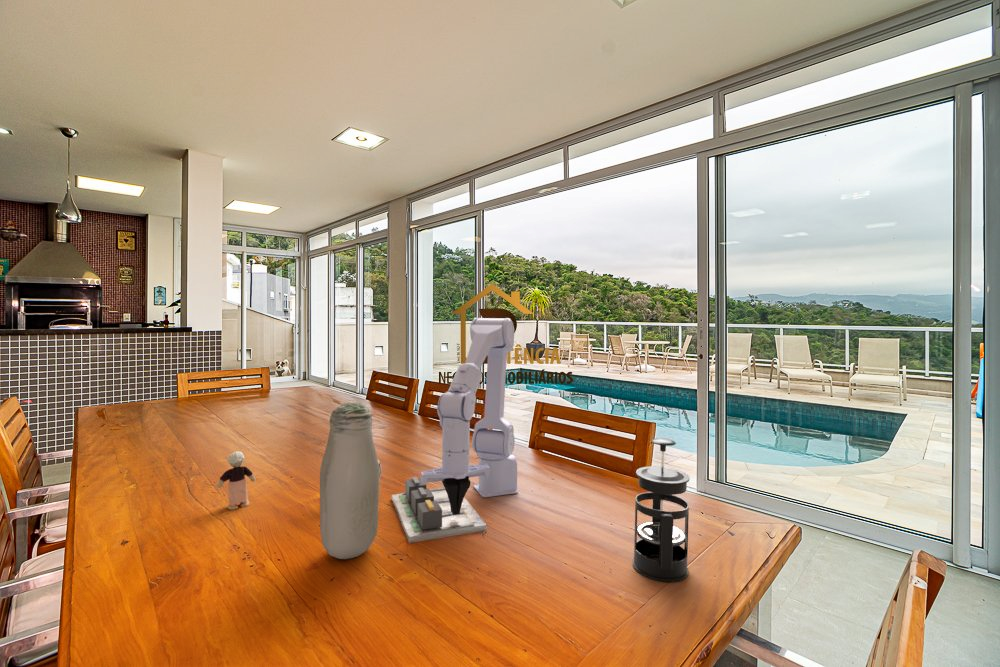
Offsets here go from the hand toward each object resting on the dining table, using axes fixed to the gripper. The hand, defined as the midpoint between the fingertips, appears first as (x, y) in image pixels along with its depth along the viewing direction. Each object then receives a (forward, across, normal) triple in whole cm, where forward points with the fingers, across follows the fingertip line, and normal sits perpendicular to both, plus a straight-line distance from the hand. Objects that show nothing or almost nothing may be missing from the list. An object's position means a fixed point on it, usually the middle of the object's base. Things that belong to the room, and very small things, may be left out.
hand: (455, 512), depth 99 cm
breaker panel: (+3, -2, +7) cm, 8 cm away
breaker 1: (+1, -5, +15) cm, 16 cm away
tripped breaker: (+1, -6, 0) cm, 6 cm away
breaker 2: (+1, -5, +7) cm, 9 cm away
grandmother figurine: (+3, -44, +26) cm, 52 cm away
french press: (+3, +29, -29) cm, 41 cm away
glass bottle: (+3, -22, -5) cm, 22 cm away
